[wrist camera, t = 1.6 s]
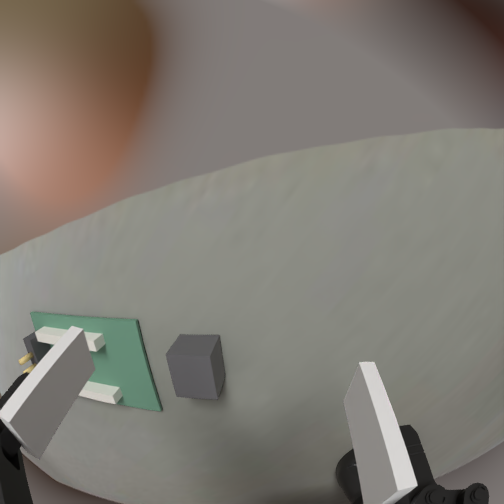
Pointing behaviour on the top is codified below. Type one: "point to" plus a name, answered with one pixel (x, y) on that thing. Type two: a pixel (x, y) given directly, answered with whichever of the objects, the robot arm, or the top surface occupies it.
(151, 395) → the header board
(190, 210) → the top surface
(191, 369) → the plug
